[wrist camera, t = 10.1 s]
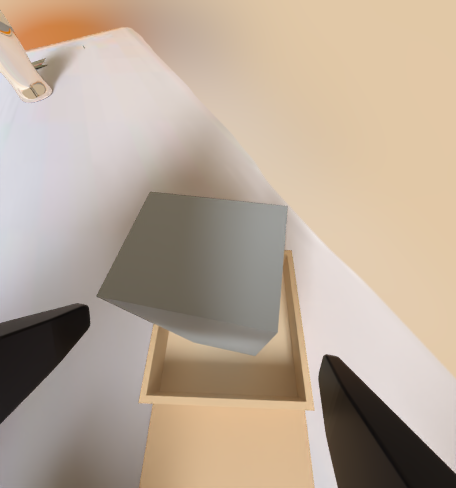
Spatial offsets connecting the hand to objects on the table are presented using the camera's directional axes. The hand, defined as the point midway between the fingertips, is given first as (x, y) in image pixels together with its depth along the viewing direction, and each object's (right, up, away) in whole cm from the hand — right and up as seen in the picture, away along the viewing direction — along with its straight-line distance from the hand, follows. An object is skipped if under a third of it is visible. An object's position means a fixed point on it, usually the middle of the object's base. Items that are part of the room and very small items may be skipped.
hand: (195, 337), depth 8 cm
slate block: (+1, -3, +10) cm, 11 cm away
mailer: (+1, -6, +9) cm, 11 cm away
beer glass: (-38, +34, +36) cm, 62 cm away
